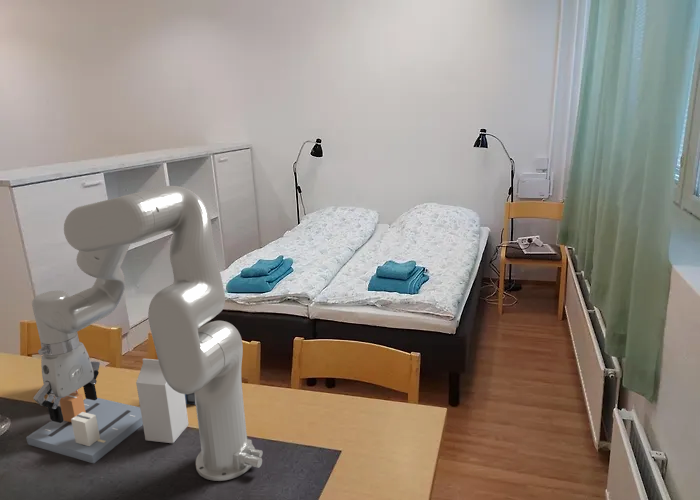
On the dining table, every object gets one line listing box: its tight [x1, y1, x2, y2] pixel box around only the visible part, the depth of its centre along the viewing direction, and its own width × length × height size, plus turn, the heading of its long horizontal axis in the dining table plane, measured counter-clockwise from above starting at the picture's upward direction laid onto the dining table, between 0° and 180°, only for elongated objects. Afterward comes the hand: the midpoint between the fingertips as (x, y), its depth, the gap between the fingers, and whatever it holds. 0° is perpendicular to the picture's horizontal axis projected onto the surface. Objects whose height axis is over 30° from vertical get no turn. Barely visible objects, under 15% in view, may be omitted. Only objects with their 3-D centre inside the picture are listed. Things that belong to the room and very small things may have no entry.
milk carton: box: [135, 358, 189, 444], centre depth 119 cm, size 7×7×19 cm
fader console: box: [25, 397, 143, 464], centre depth 123 cm, size 20×18×2 cm
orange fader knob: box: [60, 393, 86, 422], centre depth 123 cm, size 4×3×6 cm
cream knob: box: [71, 412, 100, 446], centre depth 115 cm, size 4×3×6 cm
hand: (75, 409), depth 123 cm, fingers open, 9 cm apart
